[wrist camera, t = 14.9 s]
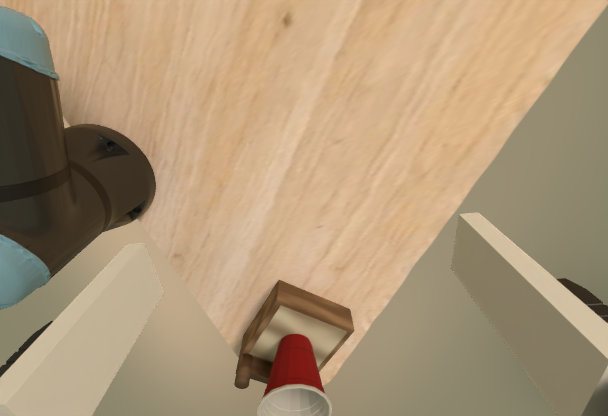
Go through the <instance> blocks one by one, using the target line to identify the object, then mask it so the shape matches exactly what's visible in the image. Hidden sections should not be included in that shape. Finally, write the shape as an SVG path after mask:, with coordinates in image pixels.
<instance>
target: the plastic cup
mask: <svg viewBox="0 0 608 416" xmlns="http://www.w3.org/2000/svg"><path fill="white" fill-rule="evenodd" d="M331 414H332V405H331V402H330V401H329V399H328V397H327V396H326V394H325V392H324V389H323V387H322V383H321V379H320V375H319V371H318V366H317V362H316V359H315V356H314V352H313V347H312V344H311V342H310V340H309V339H308V338H307V337H306V336H304V335H301V334H290V335H287V336H285V337H284V338H282V339H281V341H280V343H279V345H278V349H277V352H276V356H275V359H274V362H273V365H272V369H271V373H270V376H269V380H268V384H267V388H266V390H265V393H264V396H263V398H262V400H261V402H260V404H259V406H258V408H257V415H258V416H331Z"/></svg>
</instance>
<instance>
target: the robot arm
mask: <svg viewBox="0 0 608 416" xmlns="http://www.w3.org/2000/svg"><path fill="white" fill-rule="evenodd" d="M57 80H58V81H59V76H58V74H57V73H56V72H55V69H54V64H53V60H52V55H51V50H50V46H49V41H48V38H47V36H46V34H45V32H44V30H43V29H42V28H41V27H40V25H39V24H38V23H36V22H35V21H34V20H33V19H31V18H30V17H28V16H27V15H25V14H23V13H21V12H18V11H15V10H12V9H9V8H6V7H3V6H0V310H1V309H4V308H7V307H10V306H12V305H14V304H17V303H18V302H20V301H21V300H23V299H24V298H25V297H26V296H28V295H29V294H30V293H32V292H33V291H34V290H35V289H37V288H39V287H41V286H43V285H45V284H46V283H47V282H48V281H49V280H50V279H51V278H52V277H53V276H54V275H55V274H56V273H57V272H58V271H60V270H61V269H62V268H63V267H64V266H65V265H66V264H67V263H68V262H69V261H71V260H72V259H73V258H74V257H75V256H76V255H77V254H78V253H80V252H81V251H82V250H83V249H84V248H85V247H86V246H87V245H88V244H90V243H91V242H92V241H93V240H94V239H95V238H96V237H97V236H98V235H100V234H101V233H102V232H105V231H108V230H110V229H114V228H117V227H120V226H123V225H126V224H128V223H130V222H132V221H134V220H136V219H137V218H138V217H139V216H141V215H142V214H143V213H144V212H145V211H146V210H147V209H148V207H149V206H150V205H151V203H152V201H153V199H154V195H155V190H156V182H155V176H154V173H153V170H152V167H151V165H150V163H149V161H148V159H147V158H146V156H145V155H144V154H143V152H142V151H141V150H140V149H139V148H138V147H137V146H136V145H135V144H134V143H133V142H132V141H131V140H129V139H128V138H127V137H125V136H124V135H122V134H120V133H119V132H117V131H115V130H112V129H110V128H107V127H104V126H100V125H94V124H81V125H75V126H72V127H68V128H65V129H64V123H63V116H62V109H61V102H60V95H59V89H58V82H57ZM451 269H452V271H454V273H455V275H456V276H457V277H458V279H459V280H460V282H461V283H462V284H463V286H464V287H465V289H466V290H467V291H468V293H469V294H470V295H471V297H472V298H473V300H474V301H475V303H476V304H477V305H478V307H479V308H480V309H481V311H482V312H483V313H484V315H485V316H486V318H487V319H488V321H489V322H490V323H491V324H492V326H493V327H494V329H495V330H496V332H497V333H498V334H499V336H500V337H501V338H502V340H503V341H504V343H505V344H506V345H507V347H508V348H509V350H510V351H511V352H512V354H513V355H514V357H515V358H516V359H517V361H518V362H519V363H520V365H521V366H522V368H523V369H524V370H525V372H526V373H527V375H528V376H529V377H530V379H531V380H532V381H533V383H534V384H535V386H536V387H537V388H538V390H539V391H540V393H541V394H542V395H543V397H544V398H545V400H546V401H547V402H548V404H549V405H550V406H551V408H552V409H553V410H554V412H555V413H556V415H557V416H608V306H607V305H603V302H601V300H599V299H598V298H597V297H596V296H594V295H593V294H592V293H590V292H589V291H588V290H587V289H585V288H583V287H581V286H579V285H577V284H575V283H573V282H571V281H569V280H567V279H565V278H564V279H555V278H554V277H553V276H551V275H550V274H549V273H548V272H547V271H546V270H545V269H543V268H542V267H541V266H540V265H539V264H538V263H536V262H535V261H534V260H533V259H532V258H531V257H529V256H528V255H527V254H526V253H525V252H524V251H522V250H521V249H520V248H519V247H518V246H517V245H515V244H514V243H513V242H512V241H511V240H510V239H508V238H507V237H506V236H505V235H504V234H502V233H501V232H500V231H499V230H498V229H497V228H496V227H494V226H493V225H492V224H491V223H490V222H489V221H487V220H486V219H485V218H484V217H483V216H482V215H480V214H479V213H467V214H459V218H458V225H457V231H456V238H455V245H454V252H453V258H452V265H451ZM163 294H164V290H163V288H162V285H161V283H160V280H159V278H158V275H157V273H156V270H155V268H154V265H153V263H152V260H151V258H150V255H149V252H148V250H147V247H146V245H145V243H144V242H143V243H132V244H126V245H125V247H124V248H123V249H122V250H121V251H120V252H119V253H118V254H117V255H116V256H115V257H114V258H113V259H112V260H111V261H110V262H109V263H108V265H106V267H105V268H104V269H103V270H102V271H101V272H100V273H99V274H98V275H97V276H96V277H95V278H94V279H93V280H92V281H91V282H90V284H88V286H87V287H86V288H85V289H84V290H83V291H82V292H81V293H80V294H79V295H78V296H77V297H76V298H75V299H74V300H73V301H72V302H71V303H70V305H69V306H68V307H67V308H66V309H65V310H64V311H63V312H62V313H61V314H60V315H59V316H58V317H57V319H55V320H54V321H51V322H49V323H48V324H47V325H45V326H44V327H42V328H41V329H40V330H38V331H37V332H35V333H34V334H33V335H32V336H31V337H30V338H29V339H28V340H27V341H26V342H25V343H24V344H23V345H22V346H21V347H20V348H19V351H18V352H15V353H14V354H13V355H12V356H11V357H10V358H9V359H8V360H7V361H6V362H7V363H6V365H2V366H1V367H0V416H92V415H93V413H94V411H95V409H96V408H97V406H98V404H99V403H100V401H101V399H102V398H103V396H104V394H105V392H106V391H107V389H108V387H109V385H110V384H111V382H112V380H113V379H114V377H115V375H116V374H117V372H118V370H119V368H120V367H121V365H122V364H123V362H124V360H125V358H126V357H127V355H128V353H129V352H130V350H131V348H132V347H133V345H134V343H135V341H136V340H137V338H138V336H139V334H140V333H141V331H142V329H143V328H144V326H145V324H146V323H147V321H148V319H149V318H150V316H151V314H152V312H153V311H154V309H155V307H156V306H157V304H158V302H159V300H160V299H161V297H162V296H163Z"/></svg>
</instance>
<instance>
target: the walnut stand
mask: <svg viewBox="0 0 608 416" xmlns="http://www.w3.org/2000/svg"><path fill="white" fill-rule="evenodd" d="M353 332H354V326H353V321H352V316H351V311H350V309H348V308H346V307H343V306H341V305H338V304H336V303H334V302H331V301H329V300H326V299H324V298H322V297H319V296H317V295H314V294H312V293H309V292H307V291H305V290H302V289H300V288H297V287H295V286H293V285H290V284H288V283H285V282H283V281H280V280H279V281H278V283H277V284H276V286H275V287H274V289H273V290H272V292H271V294H270V295H269V297H268V298H267V300H266V301H265V303H264V305H263V306H262V308H261V309H260V311H259V312H258V314H257V316H256V317H255V319H254V320H253V322H252V323H251V325H250V327H249V328H248V330H247V331H246V333H245V334H244V336H243V341H242V346H241V350H240V355H239V360H238V365H237V370H236V379H235V386H236V387H237V388H240V389H244V388H247V387H248V386H249V380H250V378H251V379H254V380H257V381H260V382H263V383H266V384H268V380H269V376H270V373H271V369H272V365H273V362H274V359H275V356H276V352H277V349H278V345H279V343H280V341H281V339H282V338H284V337H285V336H287V335H290V334H301V335H304V336H306V337H307V338H308V339H309V340H310V342H311V344H312V347H313V352H314V356H315V359H316V362H317V366H318V371H320V370H321V369H322V368H323V367H324V366H325V364H326V363H327V362H328V361H329V360H330V359H331V357H332V356H333V355H334V354H335V353H336V352H337V350H338V349H339V348H340V347H341V346H342V345H343V343H344V342H345V341H346V340H347V339H348V338H349V336H350V335H351V334H352V333H353Z"/></svg>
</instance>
